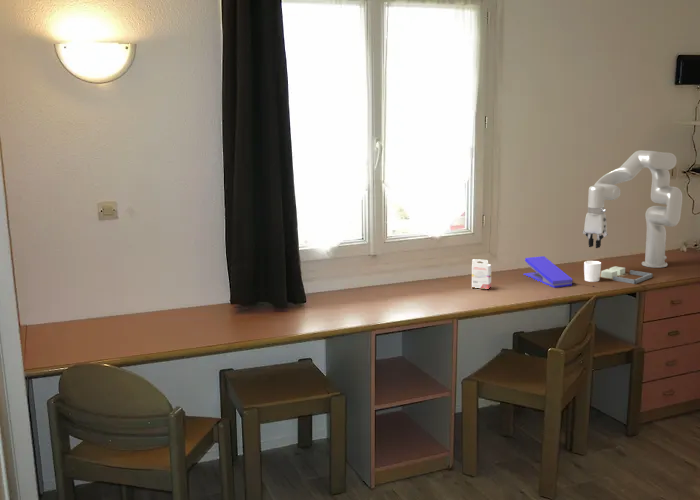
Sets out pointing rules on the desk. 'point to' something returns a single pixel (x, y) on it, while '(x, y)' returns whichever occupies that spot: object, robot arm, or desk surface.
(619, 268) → the sage tile
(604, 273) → the sage tile
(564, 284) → the stapler
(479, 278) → the ink cartridge box
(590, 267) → the white cup
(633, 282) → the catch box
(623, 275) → the walnut board
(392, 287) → the desk surface
